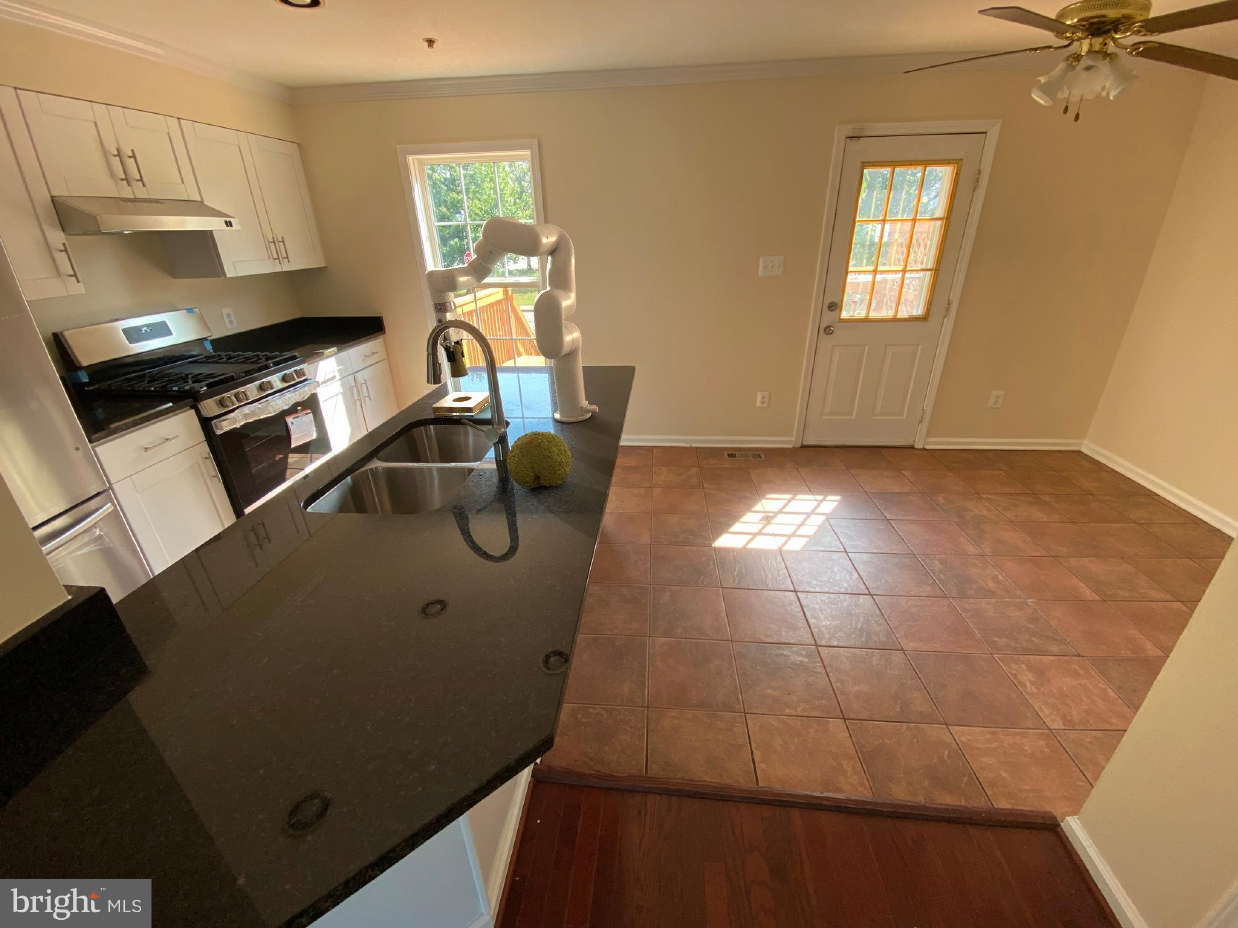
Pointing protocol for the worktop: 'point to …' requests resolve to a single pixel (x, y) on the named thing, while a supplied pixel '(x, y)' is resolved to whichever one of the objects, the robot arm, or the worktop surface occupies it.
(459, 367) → the cork
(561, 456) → the fruit
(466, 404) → the stand
